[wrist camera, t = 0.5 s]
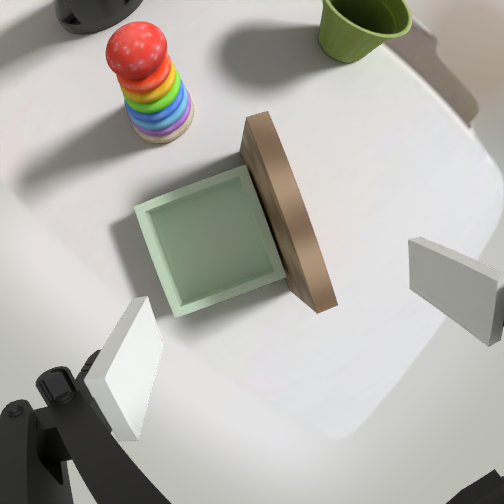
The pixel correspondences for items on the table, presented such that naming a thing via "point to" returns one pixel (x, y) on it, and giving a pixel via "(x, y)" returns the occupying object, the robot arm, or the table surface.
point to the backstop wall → (286, 213)
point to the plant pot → (361, 26)
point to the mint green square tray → (209, 241)
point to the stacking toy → (149, 82)
